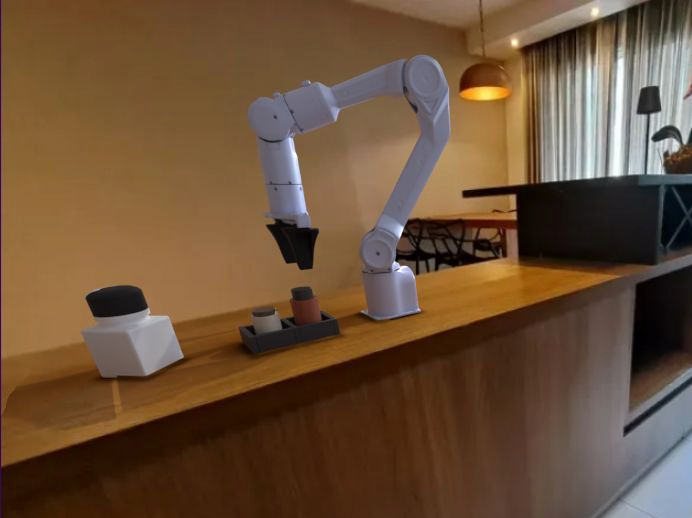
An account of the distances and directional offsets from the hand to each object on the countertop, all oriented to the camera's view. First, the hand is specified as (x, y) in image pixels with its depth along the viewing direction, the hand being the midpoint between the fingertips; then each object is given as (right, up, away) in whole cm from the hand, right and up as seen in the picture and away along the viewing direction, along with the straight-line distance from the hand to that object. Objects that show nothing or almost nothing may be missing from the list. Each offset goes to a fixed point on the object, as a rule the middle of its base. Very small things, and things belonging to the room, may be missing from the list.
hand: (299, 266), depth 80 cm
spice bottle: (+4, -13, -4) cm, 14 cm away
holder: (+2, -14, -6) cm, 15 cm away
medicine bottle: (-15, -19, -15) cm, 29 cm away
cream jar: (-1, -15, -8) cm, 17 cm away
